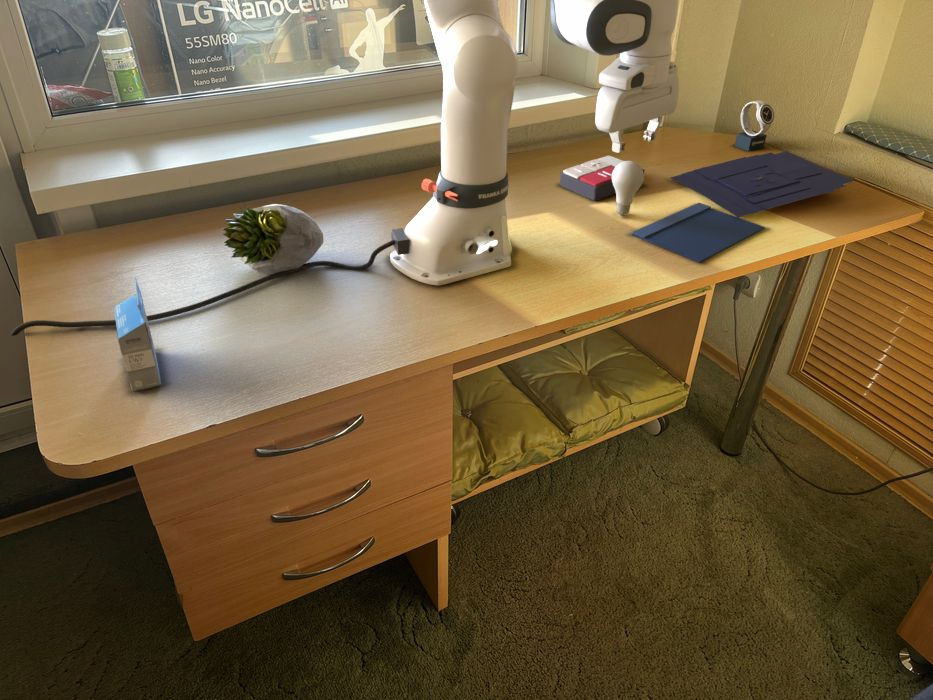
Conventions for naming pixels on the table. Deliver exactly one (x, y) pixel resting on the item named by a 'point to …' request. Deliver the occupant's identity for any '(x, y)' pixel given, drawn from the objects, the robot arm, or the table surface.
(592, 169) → the button panel
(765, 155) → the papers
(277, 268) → the potted plant
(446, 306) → the table surface
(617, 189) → the lightbulb
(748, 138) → the watch
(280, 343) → the table surface
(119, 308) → the label tape box
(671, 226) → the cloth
